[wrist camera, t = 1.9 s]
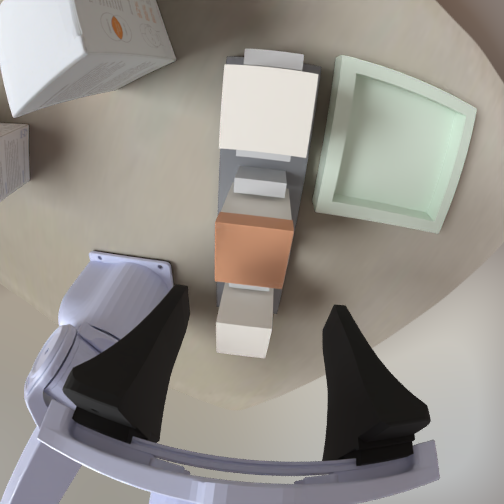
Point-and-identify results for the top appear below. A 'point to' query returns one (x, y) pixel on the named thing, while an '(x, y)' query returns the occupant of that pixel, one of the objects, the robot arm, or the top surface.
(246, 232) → the block
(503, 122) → the top surface
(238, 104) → the block
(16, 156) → the light bulb box
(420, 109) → the tray
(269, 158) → the fuse holder
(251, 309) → the block
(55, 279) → the top surface
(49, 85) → the small box
